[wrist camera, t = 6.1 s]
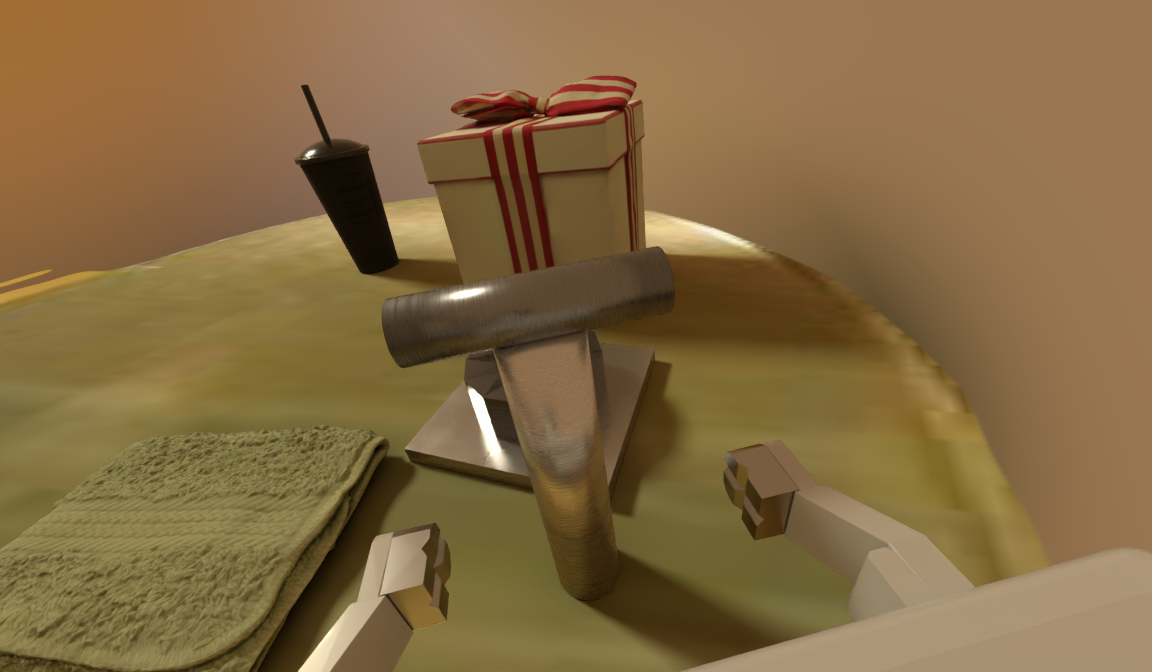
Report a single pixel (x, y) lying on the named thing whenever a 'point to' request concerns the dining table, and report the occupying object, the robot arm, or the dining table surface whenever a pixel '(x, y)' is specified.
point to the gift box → (541, 177)
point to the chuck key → (545, 381)
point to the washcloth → (181, 552)
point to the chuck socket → (486, 428)
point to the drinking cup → (349, 196)
